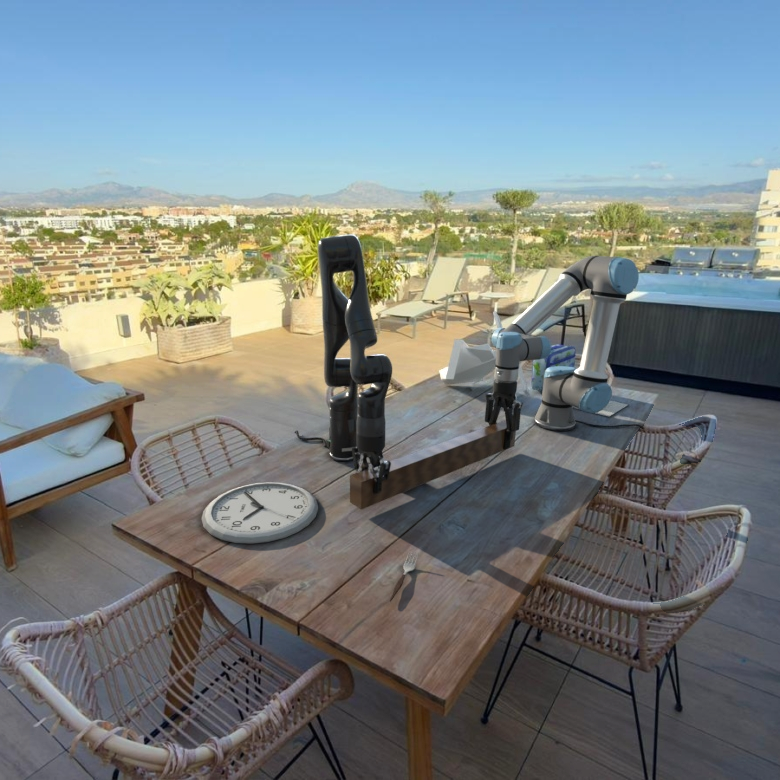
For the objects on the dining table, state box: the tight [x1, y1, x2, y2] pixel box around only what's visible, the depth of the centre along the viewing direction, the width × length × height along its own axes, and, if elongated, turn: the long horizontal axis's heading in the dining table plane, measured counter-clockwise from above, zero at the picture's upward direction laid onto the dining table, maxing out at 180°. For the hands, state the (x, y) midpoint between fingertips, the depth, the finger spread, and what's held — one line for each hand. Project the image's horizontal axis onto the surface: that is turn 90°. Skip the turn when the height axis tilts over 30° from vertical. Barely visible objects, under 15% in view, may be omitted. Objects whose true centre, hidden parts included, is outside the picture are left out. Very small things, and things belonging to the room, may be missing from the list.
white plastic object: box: [438, 310, 531, 399], centre depth 245 cm, size 37×45×31 cm
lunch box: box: [530, 344, 577, 392], centre depth 247 cm, size 26×11×21 cm, turn 134°
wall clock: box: [201, 481, 319, 544], centre depth 139 cm, size 30×2×30 cm
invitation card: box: [573, 400, 629, 418], centre depth 226 cm, size 21×1×15 cm
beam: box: [349, 419, 517, 510], centre depth 158 cm, size 66×5×8 cm, turn 131°
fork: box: [389, 550, 419, 602], centre depth 113 cm, size 3×16×2 cm, turn 160°
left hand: (370, 488), depth 141 cm, fingers closed on beam, 5 cm apart
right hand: (499, 445), depth 177 cm, fingers closed on beam, 5 cm apart
